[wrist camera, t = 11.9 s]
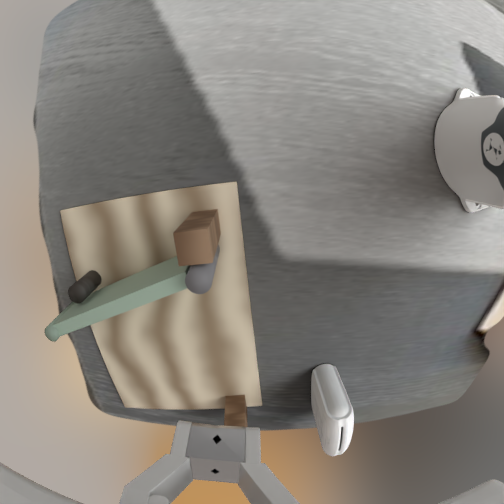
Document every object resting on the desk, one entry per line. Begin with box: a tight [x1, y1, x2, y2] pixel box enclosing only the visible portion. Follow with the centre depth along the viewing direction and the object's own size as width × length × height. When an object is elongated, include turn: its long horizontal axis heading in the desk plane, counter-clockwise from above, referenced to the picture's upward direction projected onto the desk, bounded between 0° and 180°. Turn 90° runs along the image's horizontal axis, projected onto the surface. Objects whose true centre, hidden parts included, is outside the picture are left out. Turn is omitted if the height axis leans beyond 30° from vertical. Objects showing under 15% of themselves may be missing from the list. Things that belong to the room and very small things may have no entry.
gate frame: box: [60, 181, 262, 428], centre depth 34 cm, size 24×34×11 cm
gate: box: [45, 245, 220, 341], centre depth 32 cm, size 23×2×10 cm, turn 112°
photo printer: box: [311, 364, 354, 456], centre depth 38 cm, size 10×4×12 cm, turn 7°
